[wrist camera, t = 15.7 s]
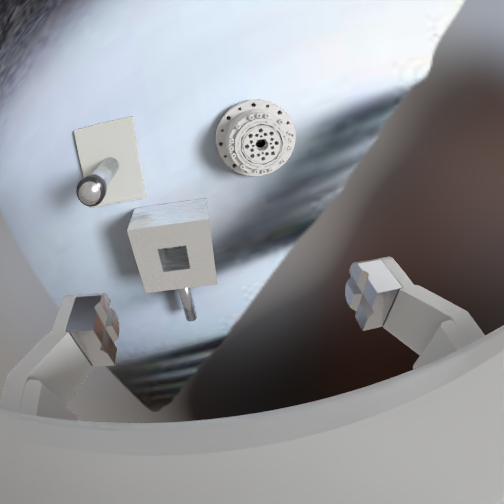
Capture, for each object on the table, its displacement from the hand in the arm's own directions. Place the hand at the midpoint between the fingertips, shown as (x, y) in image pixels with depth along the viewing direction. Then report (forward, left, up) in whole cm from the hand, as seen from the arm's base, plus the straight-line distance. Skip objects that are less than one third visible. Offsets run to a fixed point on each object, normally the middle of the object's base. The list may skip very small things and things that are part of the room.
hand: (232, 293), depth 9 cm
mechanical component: (+2, +6, -30) cm, 31 cm away
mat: (+3, -12, -30) cm, 32 cm away
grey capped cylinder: (+3, -12, -29) cm, 32 cm away
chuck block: (+19, -5, -29) cm, 36 cm away
